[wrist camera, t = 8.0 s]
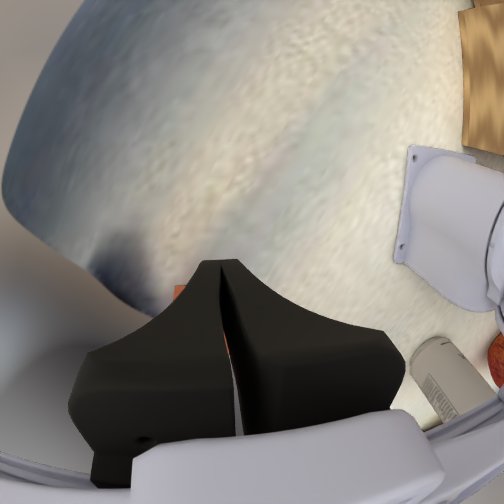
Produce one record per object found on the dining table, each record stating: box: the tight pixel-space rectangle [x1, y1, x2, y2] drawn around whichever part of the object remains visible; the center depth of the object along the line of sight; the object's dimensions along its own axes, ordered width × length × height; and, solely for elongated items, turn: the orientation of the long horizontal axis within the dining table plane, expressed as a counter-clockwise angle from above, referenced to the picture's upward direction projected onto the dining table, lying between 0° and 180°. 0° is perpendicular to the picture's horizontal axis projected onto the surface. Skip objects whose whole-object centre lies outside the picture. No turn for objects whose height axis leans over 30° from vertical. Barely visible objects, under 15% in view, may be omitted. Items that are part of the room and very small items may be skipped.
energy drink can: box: [410, 337, 497, 423], centre depth 23 cm, size 6×6×15 cm
